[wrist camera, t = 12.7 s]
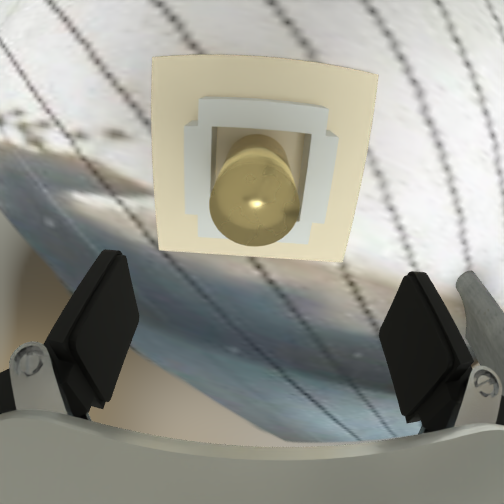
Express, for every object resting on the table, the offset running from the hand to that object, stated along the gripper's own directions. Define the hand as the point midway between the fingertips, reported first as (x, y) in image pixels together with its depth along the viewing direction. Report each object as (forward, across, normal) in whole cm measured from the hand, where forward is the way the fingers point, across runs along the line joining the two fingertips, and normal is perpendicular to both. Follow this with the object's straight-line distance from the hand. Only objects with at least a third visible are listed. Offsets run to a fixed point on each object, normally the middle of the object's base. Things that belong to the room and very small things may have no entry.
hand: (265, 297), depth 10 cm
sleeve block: (+18, 0, +1) cm, 18 cm away
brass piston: (+17, 0, +1) cm, 17 cm away
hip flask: (+18, -32, +17) cm, 40 cm away
